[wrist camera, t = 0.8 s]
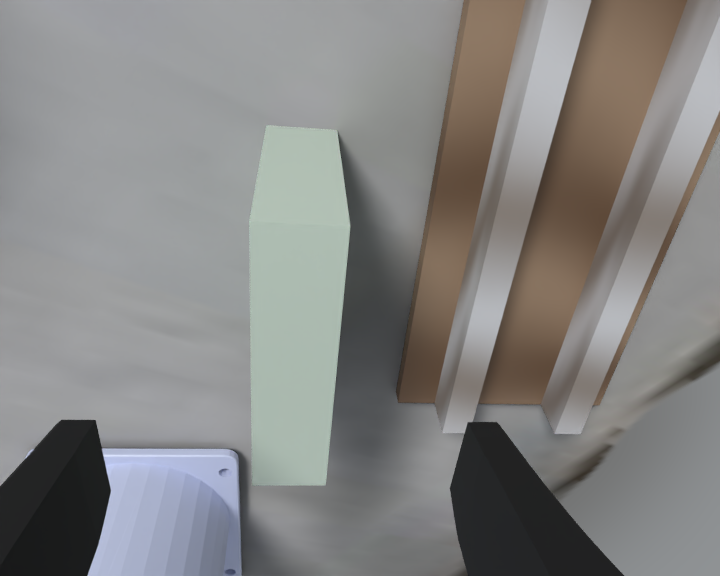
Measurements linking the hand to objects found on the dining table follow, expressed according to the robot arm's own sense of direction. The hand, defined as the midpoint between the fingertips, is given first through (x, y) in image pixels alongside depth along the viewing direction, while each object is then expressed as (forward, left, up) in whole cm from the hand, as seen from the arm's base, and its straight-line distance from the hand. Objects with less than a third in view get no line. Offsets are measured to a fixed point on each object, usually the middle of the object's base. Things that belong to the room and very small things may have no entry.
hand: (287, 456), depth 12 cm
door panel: (0, 0, -8) cm, 9 cm away
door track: (+2, -8, -8) cm, 12 cm away
